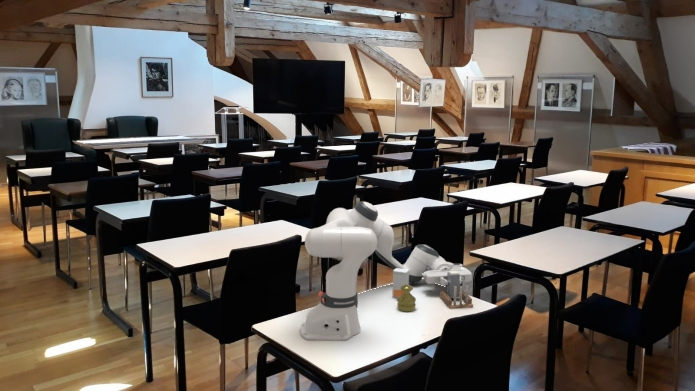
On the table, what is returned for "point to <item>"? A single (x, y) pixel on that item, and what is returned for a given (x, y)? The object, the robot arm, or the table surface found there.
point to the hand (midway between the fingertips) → (453, 282)
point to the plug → (453, 283)
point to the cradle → (448, 301)
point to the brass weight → (406, 299)
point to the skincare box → (399, 281)
